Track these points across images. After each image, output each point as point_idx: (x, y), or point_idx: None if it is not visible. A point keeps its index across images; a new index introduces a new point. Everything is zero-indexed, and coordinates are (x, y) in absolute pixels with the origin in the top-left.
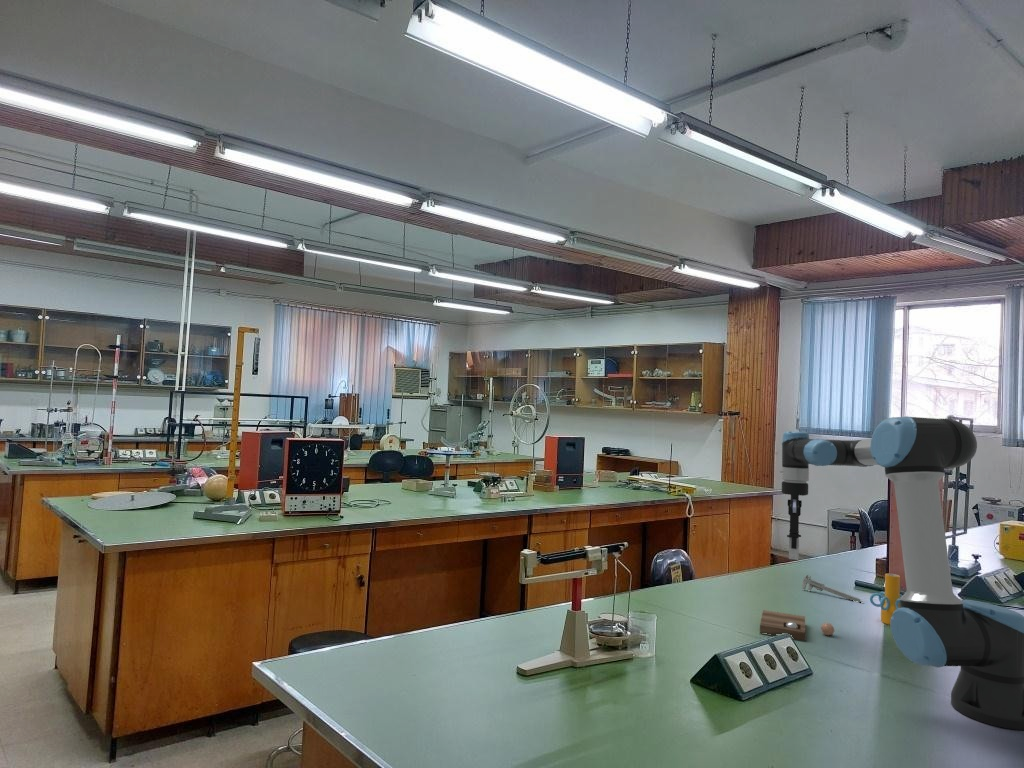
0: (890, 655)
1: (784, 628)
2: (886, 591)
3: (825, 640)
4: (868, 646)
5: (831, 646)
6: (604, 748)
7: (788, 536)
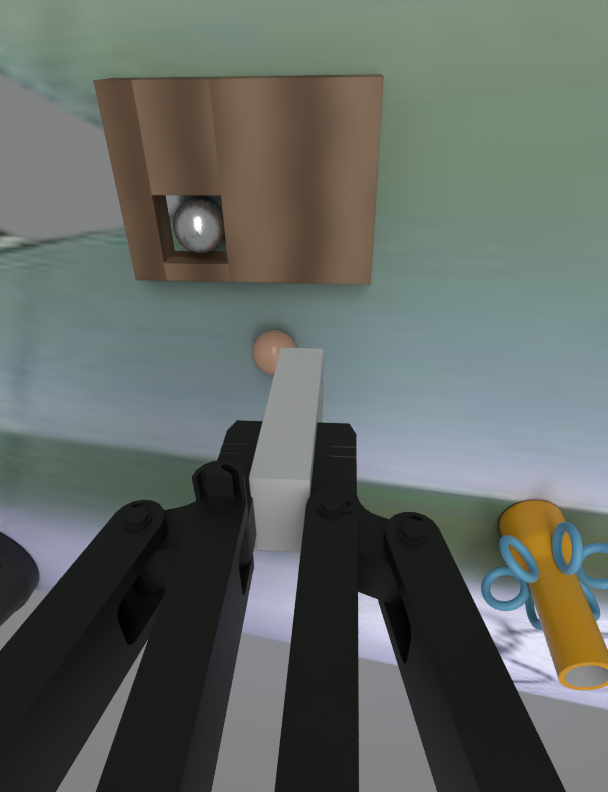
0: (192, 473)
1: (127, 199)
2: (556, 599)
3: (211, 331)
4: None
5: (158, 344)
6: None
7: (199, 481)
